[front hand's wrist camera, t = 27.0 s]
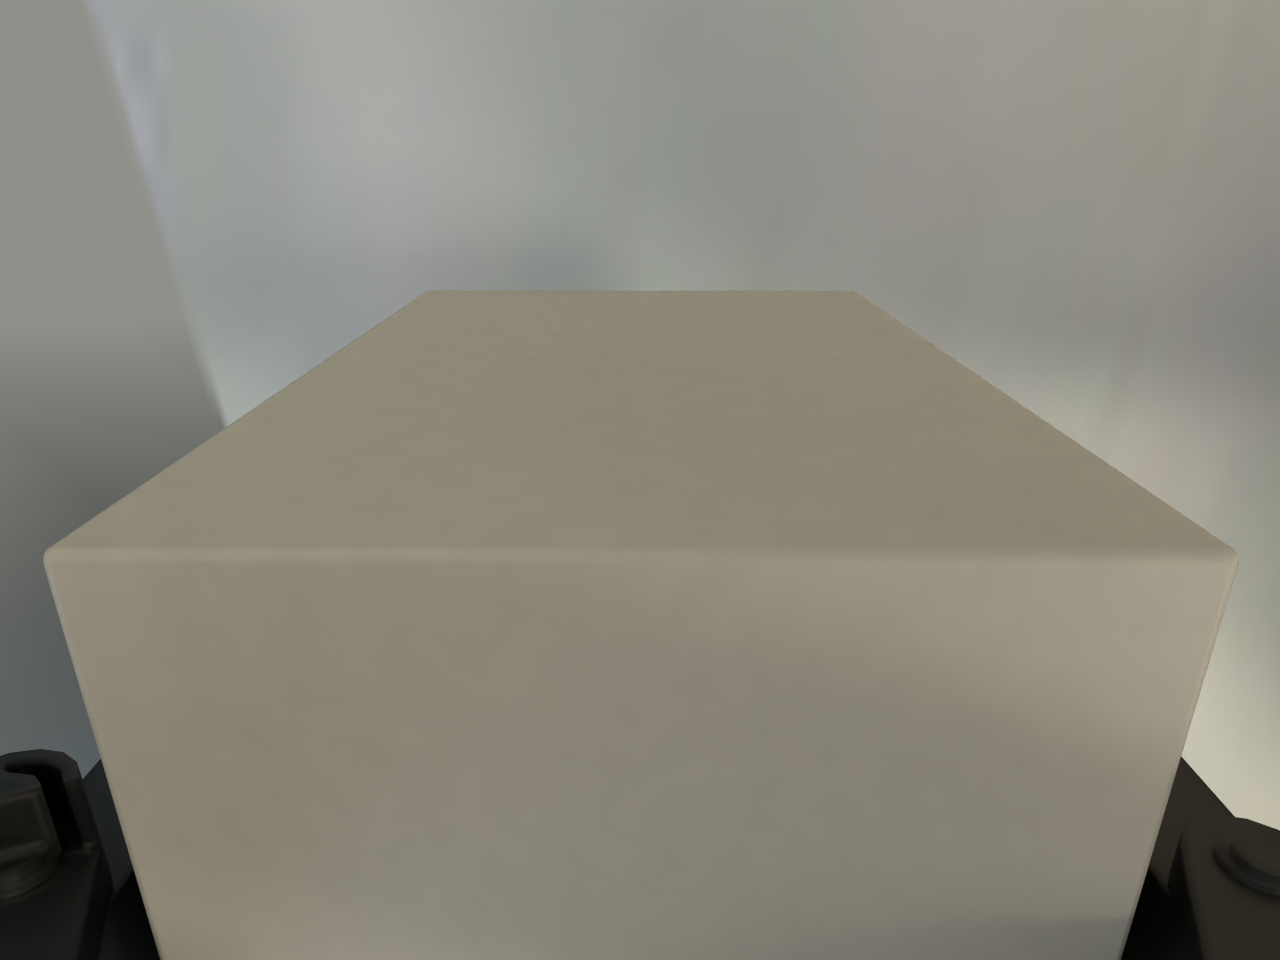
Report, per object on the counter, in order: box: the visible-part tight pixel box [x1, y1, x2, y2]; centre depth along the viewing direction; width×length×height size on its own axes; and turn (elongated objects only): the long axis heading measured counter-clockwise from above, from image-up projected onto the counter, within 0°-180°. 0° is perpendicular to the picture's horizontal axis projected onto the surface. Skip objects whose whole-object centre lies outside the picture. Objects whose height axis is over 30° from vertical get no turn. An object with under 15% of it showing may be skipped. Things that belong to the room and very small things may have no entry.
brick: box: [43, 291, 1238, 960], centre depth 12 cm, size 9×8×11 cm
